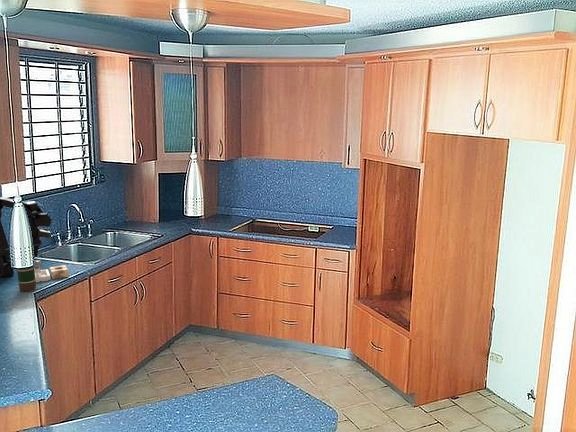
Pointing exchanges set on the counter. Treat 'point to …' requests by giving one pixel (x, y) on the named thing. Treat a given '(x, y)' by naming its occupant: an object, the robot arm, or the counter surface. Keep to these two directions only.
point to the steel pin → (37, 268)
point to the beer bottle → (26, 279)
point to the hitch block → (59, 271)
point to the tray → (43, 276)
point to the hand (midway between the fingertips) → (35, 254)
